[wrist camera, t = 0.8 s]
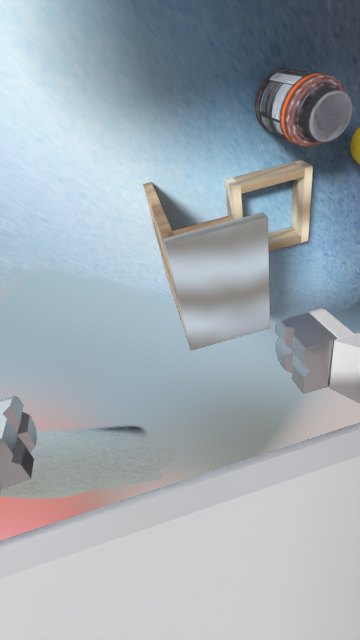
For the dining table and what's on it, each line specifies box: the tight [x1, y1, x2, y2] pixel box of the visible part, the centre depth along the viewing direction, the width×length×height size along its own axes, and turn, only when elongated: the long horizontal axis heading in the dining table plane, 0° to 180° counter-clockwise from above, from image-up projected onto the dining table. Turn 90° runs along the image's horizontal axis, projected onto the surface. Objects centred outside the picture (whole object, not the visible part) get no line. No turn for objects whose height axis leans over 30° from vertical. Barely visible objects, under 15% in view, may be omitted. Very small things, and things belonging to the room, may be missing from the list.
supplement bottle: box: [255, 70, 353, 147], centre depth 34 cm, size 6×6×11 cm
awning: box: [143, 182, 270, 350], centre depth 39 cm, size 13×9×16 cm
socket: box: [225, 160, 313, 251], centre depth 45 cm, size 10×10×3 cm
